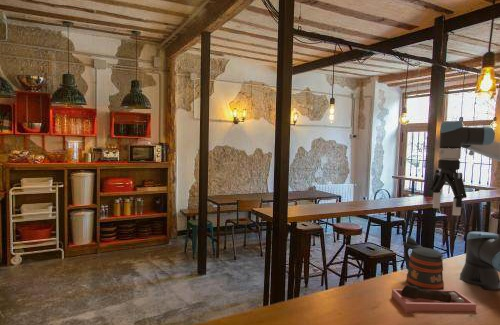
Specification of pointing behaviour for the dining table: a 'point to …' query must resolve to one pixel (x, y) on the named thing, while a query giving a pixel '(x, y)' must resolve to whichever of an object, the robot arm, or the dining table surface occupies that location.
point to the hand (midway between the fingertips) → (445, 211)
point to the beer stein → (423, 266)
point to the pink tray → (431, 303)
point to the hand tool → (425, 294)
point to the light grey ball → (453, 296)
